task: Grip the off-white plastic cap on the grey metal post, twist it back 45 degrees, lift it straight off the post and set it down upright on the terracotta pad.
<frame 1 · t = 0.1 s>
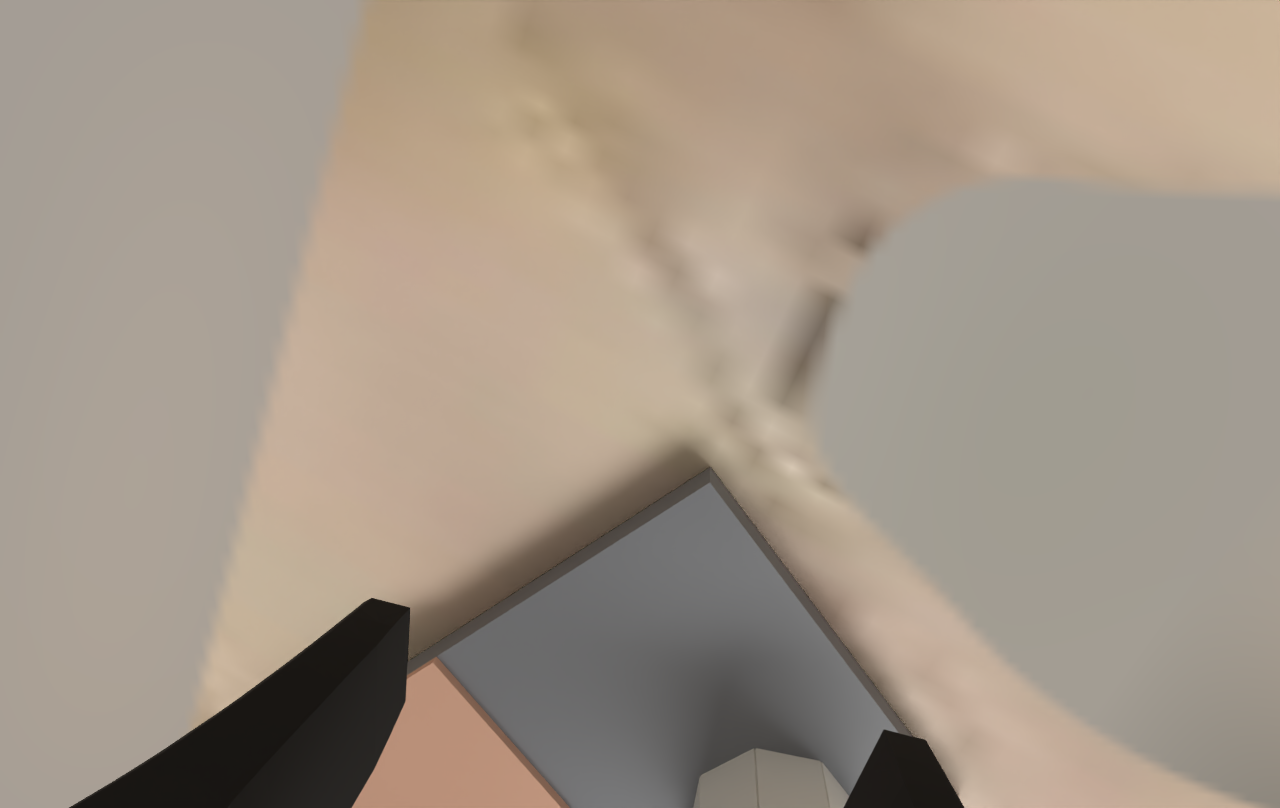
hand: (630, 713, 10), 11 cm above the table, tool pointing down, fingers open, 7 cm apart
base board: (613, 763, 24), on the table
terracotta pad: (428, 780, 23), resting on base board
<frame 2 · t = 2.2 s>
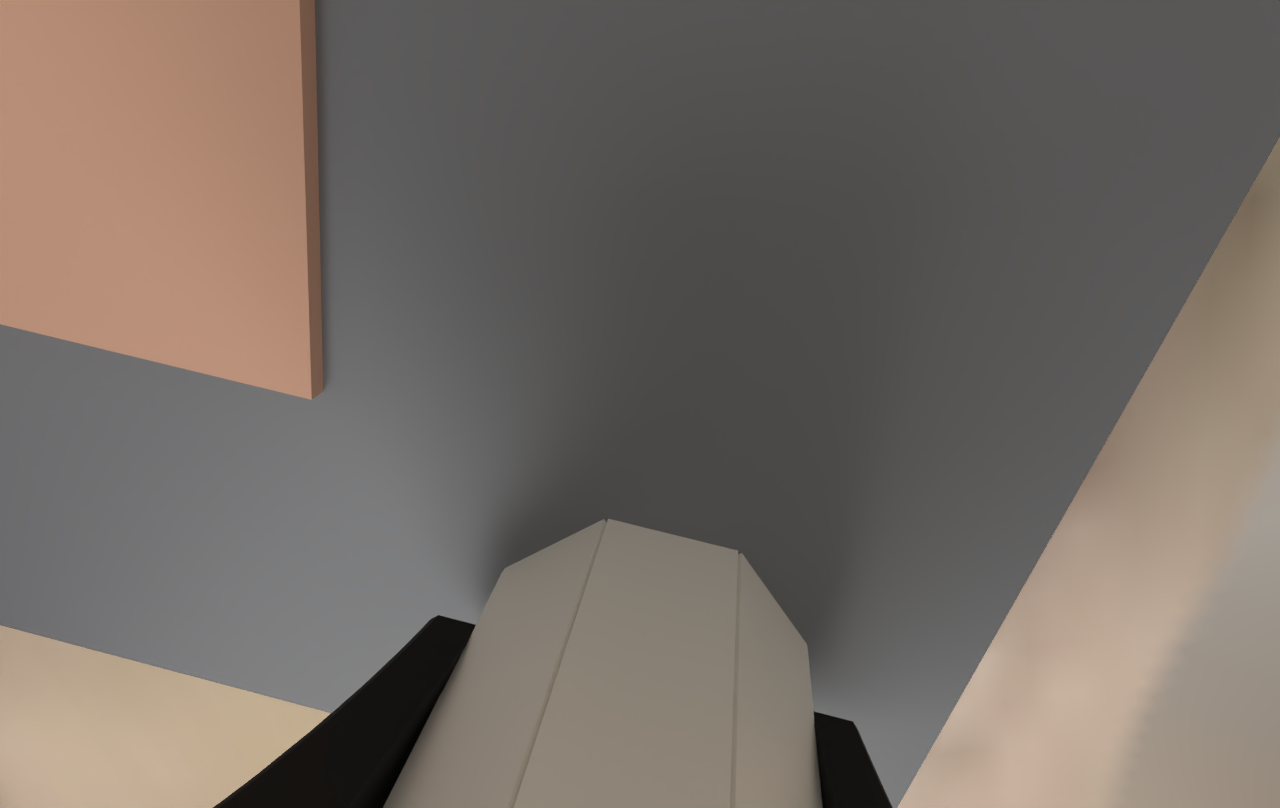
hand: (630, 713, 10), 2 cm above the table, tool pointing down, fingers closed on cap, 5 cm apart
base board: (452, 382, 11), on the table
terracotta pad: (56, 85, 9), resting on base board
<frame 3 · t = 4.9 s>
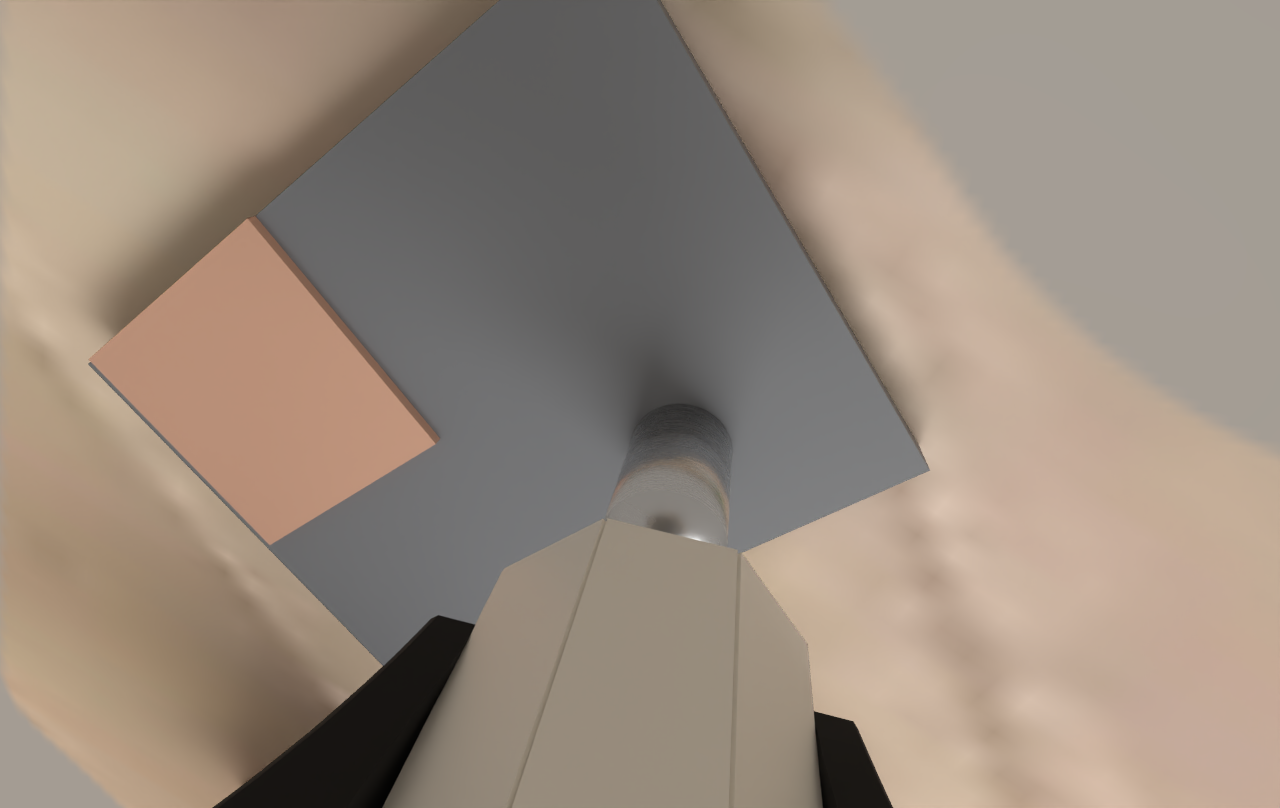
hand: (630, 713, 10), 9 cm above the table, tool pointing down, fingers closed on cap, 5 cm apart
base board: (496, 394, 19), on the table
terracotta pad: (266, 396, 19), resting on base board
metal post: (673, 491, 16), on the base board, point 3 cm above the table
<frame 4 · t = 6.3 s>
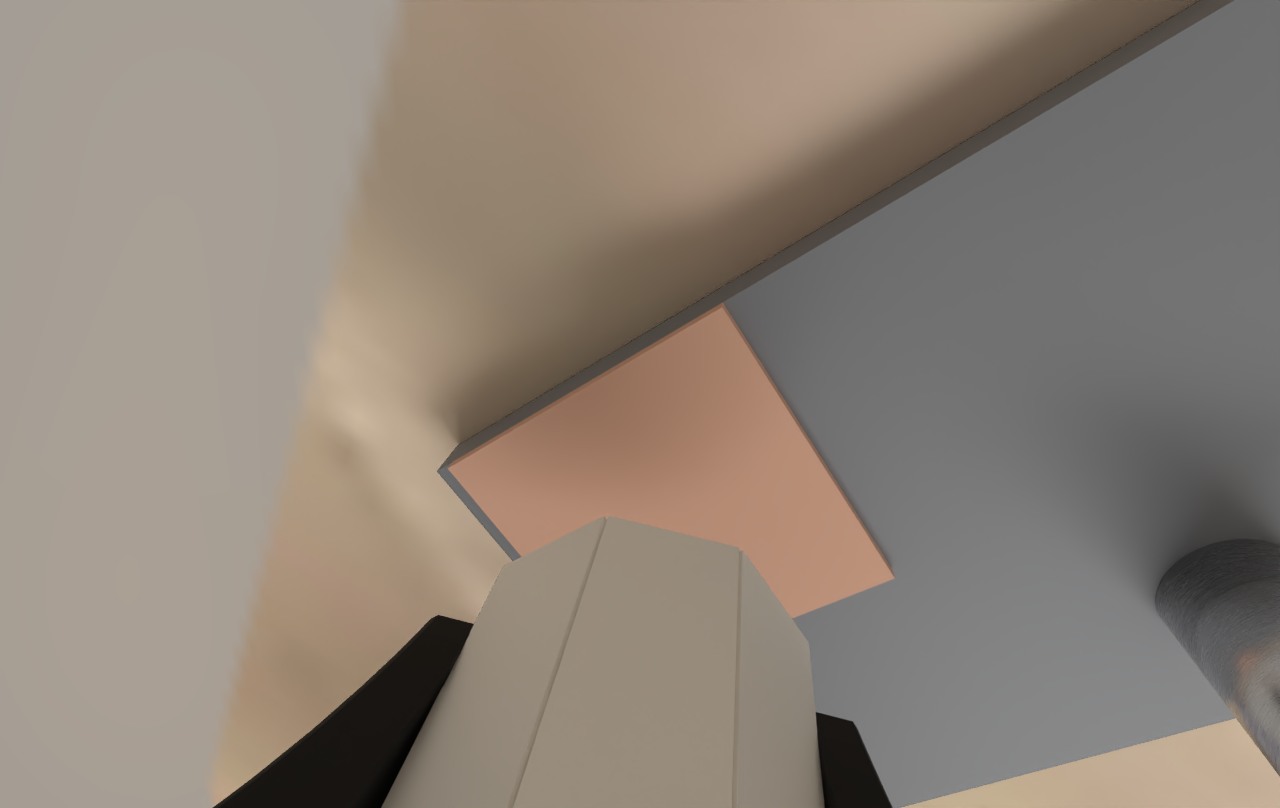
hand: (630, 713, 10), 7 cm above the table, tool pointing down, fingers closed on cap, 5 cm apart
base board: (946, 510, 16), on the table
terracotta pad: (669, 514, 15), resting on base board
when the fingers open (4 cm above the table, at t = 7.3 s): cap drops 1 cm, resting on terracotta pad.
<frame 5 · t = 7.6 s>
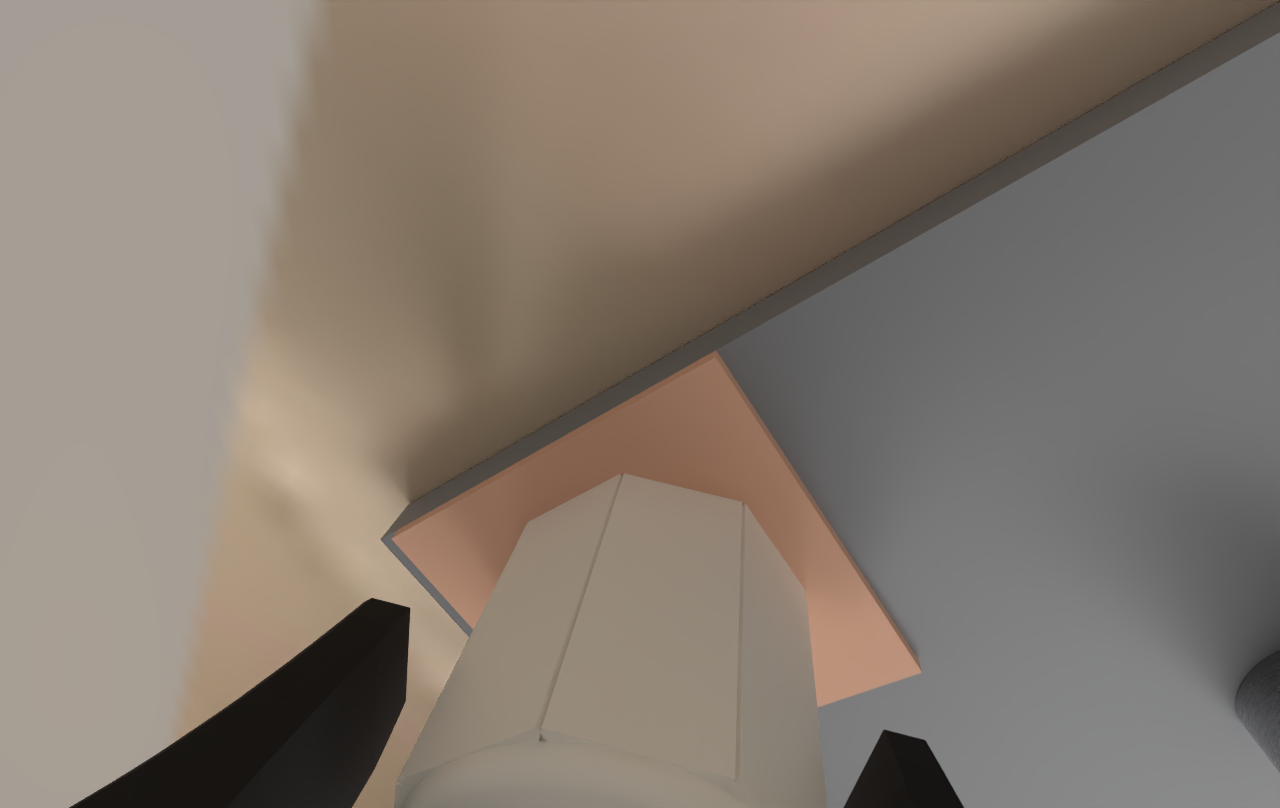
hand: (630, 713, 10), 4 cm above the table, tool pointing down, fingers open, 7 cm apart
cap: (628, 735, 10), point 4 cm above the table, touching terracotta pad
base board: (981, 586, 13), on the table
terracotta pad: (653, 593, 13), resting on base board
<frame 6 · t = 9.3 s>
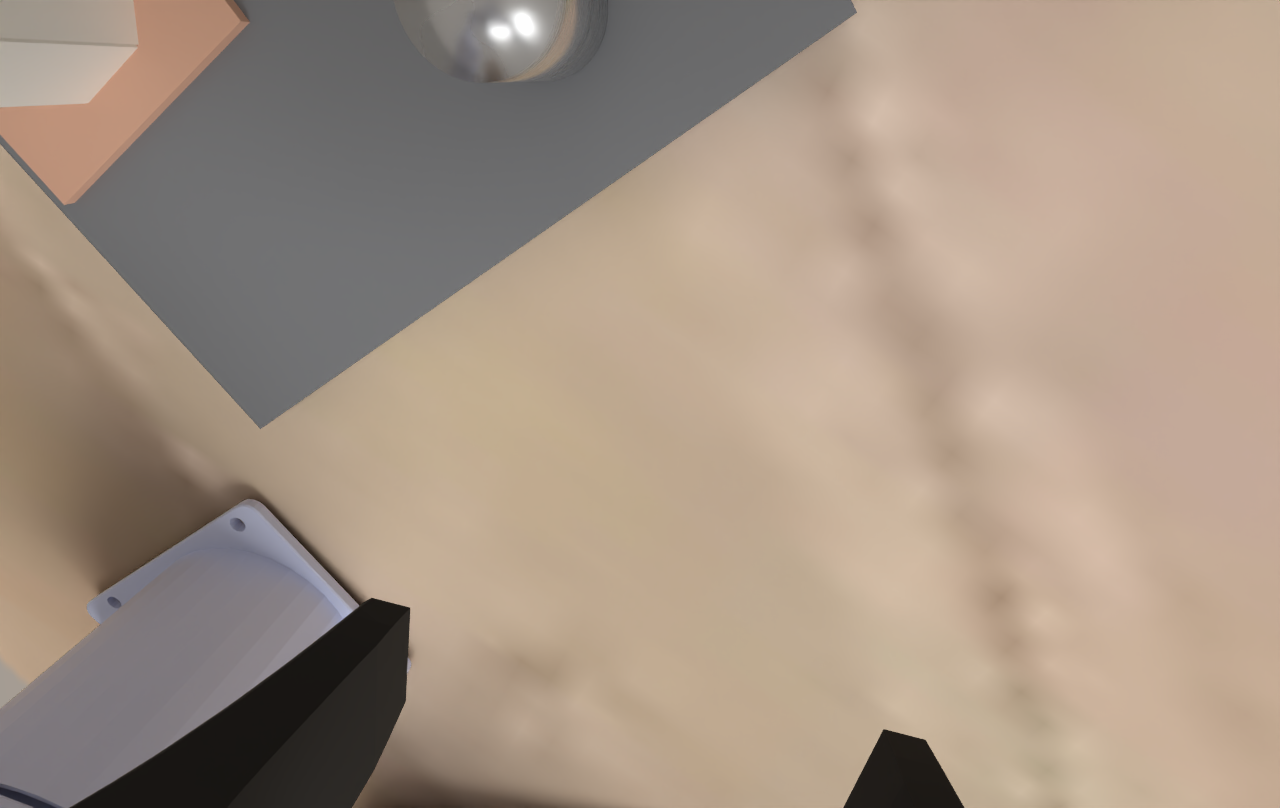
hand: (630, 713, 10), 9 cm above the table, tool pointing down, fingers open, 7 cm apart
metal post: (514, 0, 12), on the base board, point 3 cm above the table
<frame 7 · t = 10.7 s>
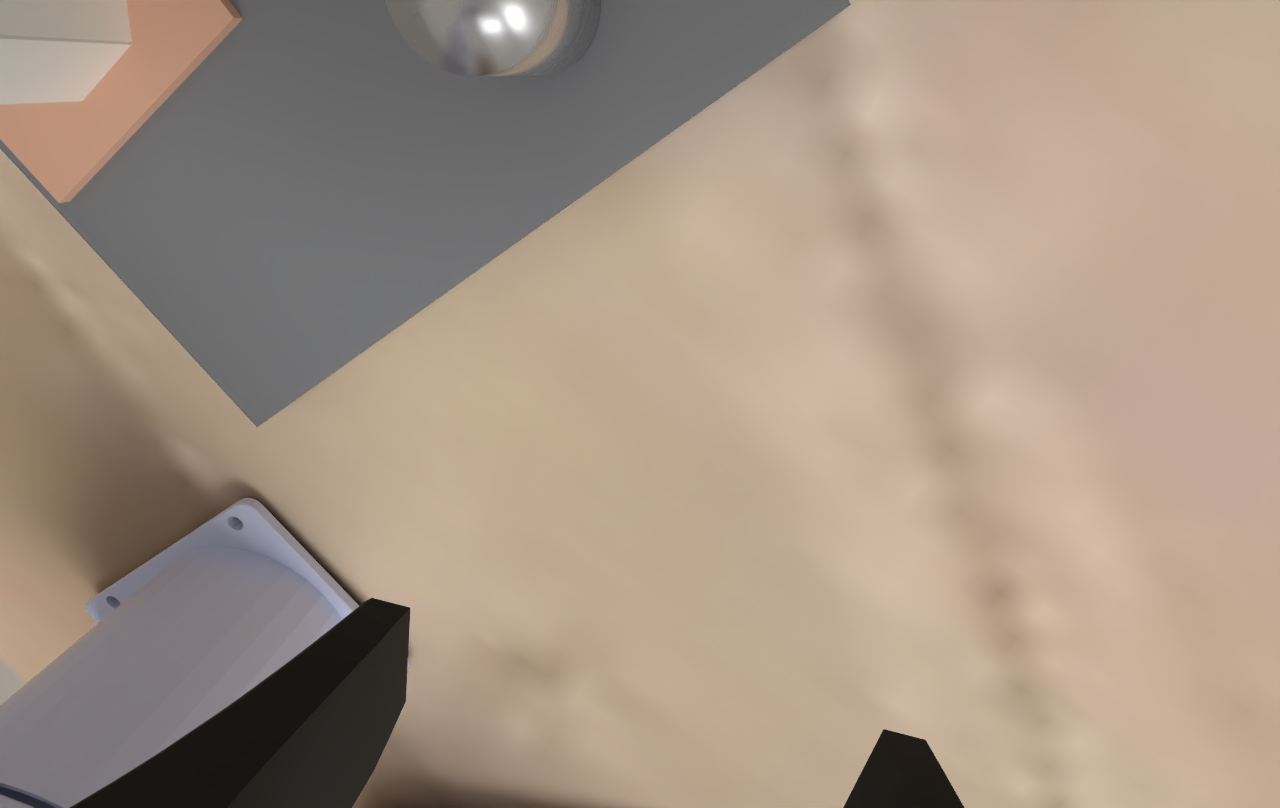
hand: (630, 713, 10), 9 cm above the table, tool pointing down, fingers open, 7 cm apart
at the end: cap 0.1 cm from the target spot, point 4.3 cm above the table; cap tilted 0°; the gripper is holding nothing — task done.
